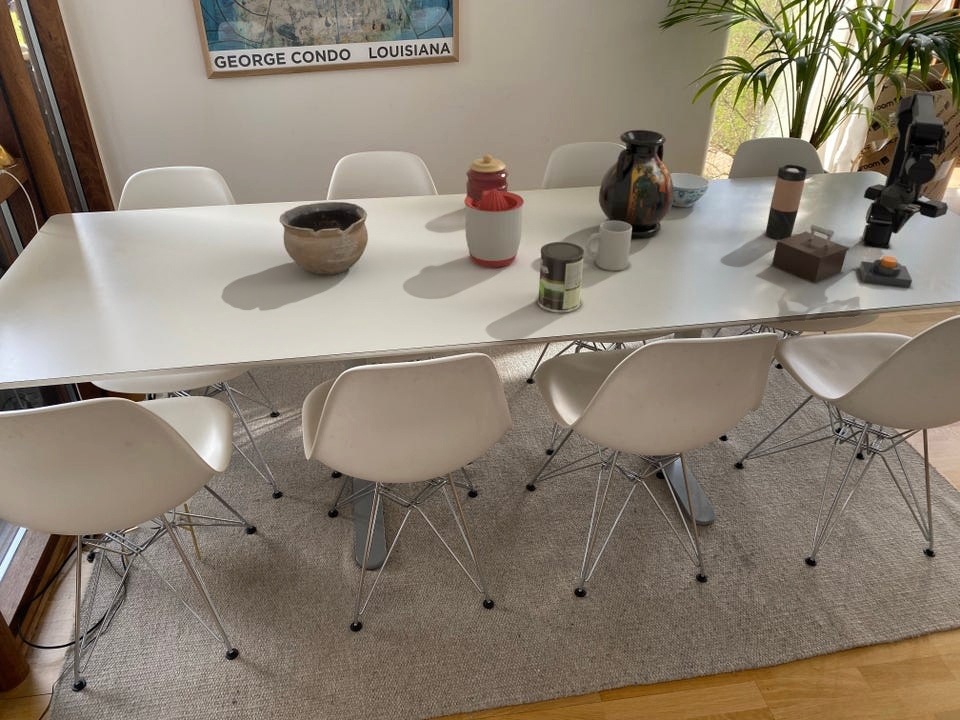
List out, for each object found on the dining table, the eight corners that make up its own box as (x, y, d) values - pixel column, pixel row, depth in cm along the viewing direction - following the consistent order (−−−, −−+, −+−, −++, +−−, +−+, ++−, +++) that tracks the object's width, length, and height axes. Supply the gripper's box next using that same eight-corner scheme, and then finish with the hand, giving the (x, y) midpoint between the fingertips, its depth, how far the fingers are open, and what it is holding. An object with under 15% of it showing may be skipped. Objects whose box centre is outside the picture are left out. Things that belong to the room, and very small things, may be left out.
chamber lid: (804, 233, 212) (809, 216, 210) (848, 250, 203) (853, 232, 200) (776, 243, 206) (780, 226, 204) (820, 260, 197) (824, 242, 194)
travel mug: (793, 241, 224) (809, 173, 214) (766, 238, 225) (780, 171, 215) (789, 231, 230) (805, 165, 220) (763, 229, 232) (777, 163, 221)
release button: (893, 263, 202) (896, 257, 201) (896, 269, 199) (898, 262, 198) (879, 261, 203) (881, 255, 202) (881, 267, 200) (883, 260, 199)
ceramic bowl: (299, 291, 193) (292, 235, 185) (276, 259, 210) (269, 207, 202) (382, 275, 202) (379, 220, 194) (354, 245, 219) (350, 194, 211)
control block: (903, 273, 206) (907, 259, 204) (909, 288, 198) (914, 273, 196) (859, 268, 208) (863, 255, 206) (863, 282, 201) (867, 268, 199)
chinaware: (710, 212, 244) (714, 188, 240) (662, 211, 244) (666, 187, 240) (699, 196, 256) (703, 173, 252) (654, 195, 256) (657, 172, 252)
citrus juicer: (488, 241, 222) (489, 173, 211) (533, 260, 211) (536, 189, 201) (448, 257, 212) (447, 186, 202) (493, 276, 202) (494, 203, 191)
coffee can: (541, 313, 184) (544, 259, 177) (535, 294, 193) (537, 242, 186) (583, 312, 185) (588, 258, 178) (575, 293, 194) (579, 241, 187)
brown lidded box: (797, 255, 215) (803, 234, 212) (840, 272, 206) (846, 251, 202) (771, 265, 210) (776, 243, 206) (814, 283, 200) (820, 260, 197)
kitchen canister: (514, 207, 245) (516, 152, 236) (493, 220, 236) (494, 163, 227) (480, 199, 251) (480, 145, 242) (458, 211, 242) (457, 156, 233)
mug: (620, 256, 213) (624, 219, 208) (632, 269, 206) (637, 230, 201) (579, 260, 211) (582, 222, 205) (590, 273, 204) (594, 234, 198)
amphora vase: (637, 249, 218) (649, 151, 203) (581, 227, 232) (588, 133, 217) (683, 230, 230) (698, 136, 215) (627, 211, 244) (637, 121, 229)
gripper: (859, 168, 192) (843, 227, 200) (933, 188, 179) (913, 251, 186) (884, 161, 197) (868, 220, 205) (958, 180, 184) (937, 242, 192)
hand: (895, 233), depth 197 cm, fingers closed
